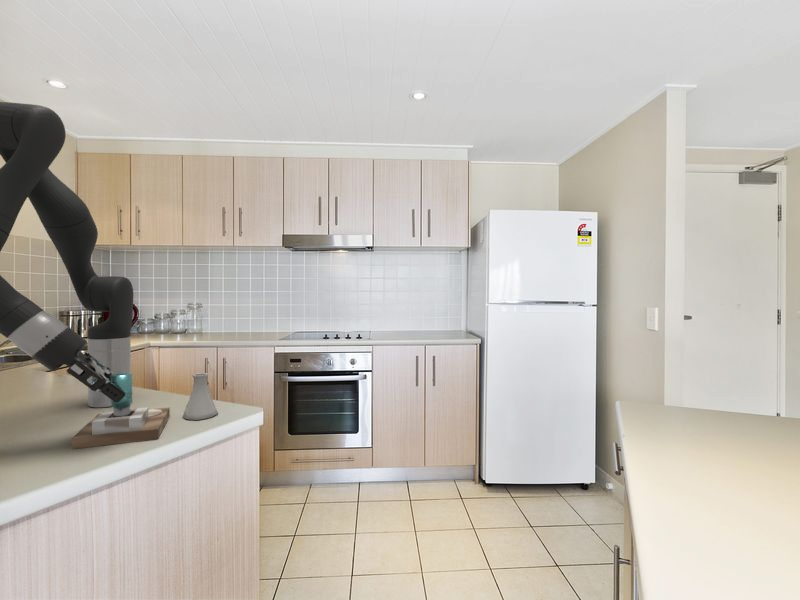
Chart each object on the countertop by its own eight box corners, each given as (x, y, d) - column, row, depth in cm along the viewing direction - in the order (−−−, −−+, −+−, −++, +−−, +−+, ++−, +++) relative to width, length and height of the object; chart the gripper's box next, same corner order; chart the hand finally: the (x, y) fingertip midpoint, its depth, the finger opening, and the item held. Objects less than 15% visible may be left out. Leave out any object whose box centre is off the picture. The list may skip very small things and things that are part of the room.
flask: (224, 414, 100) (223, 372, 100) (198, 422, 94) (198, 378, 94) (202, 410, 103) (202, 370, 103) (176, 418, 97) (175, 375, 97)
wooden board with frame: (98, 422, 93) (98, 402, 93) (169, 415, 99) (169, 396, 99) (71, 448, 78) (71, 424, 78) (158, 439, 83) (158, 416, 83)
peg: (113, 425, 85) (113, 373, 85) (134, 423, 87) (133, 372, 87) (108, 430, 82) (108, 376, 82) (130, 428, 83) (130, 375, 83)
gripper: (60, 328, 74) (138, 386, 80) (71, 323, 86) (138, 374, 92) (21, 361, 71) (104, 418, 77) (38, 351, 83) (109, 401, 89)
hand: (122, 394), depth 84 cm, fingers open, 8 cm apart
